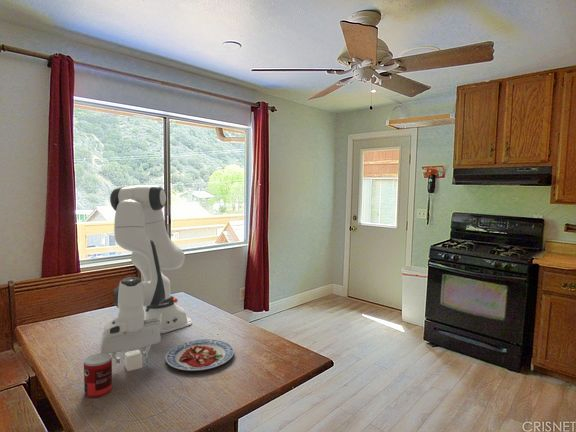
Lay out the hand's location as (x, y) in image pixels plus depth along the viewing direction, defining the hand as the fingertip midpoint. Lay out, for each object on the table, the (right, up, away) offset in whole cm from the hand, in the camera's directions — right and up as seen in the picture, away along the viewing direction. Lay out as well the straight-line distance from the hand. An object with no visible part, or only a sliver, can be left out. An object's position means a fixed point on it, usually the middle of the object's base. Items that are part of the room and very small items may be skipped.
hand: (131, 359), depth 127 cm
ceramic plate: (+23, -3, +8) cm, 25 cm away
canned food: (-4, -4, -15) cm, 16 cm away
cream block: (0, -3, +1) cm, 3 cm away
